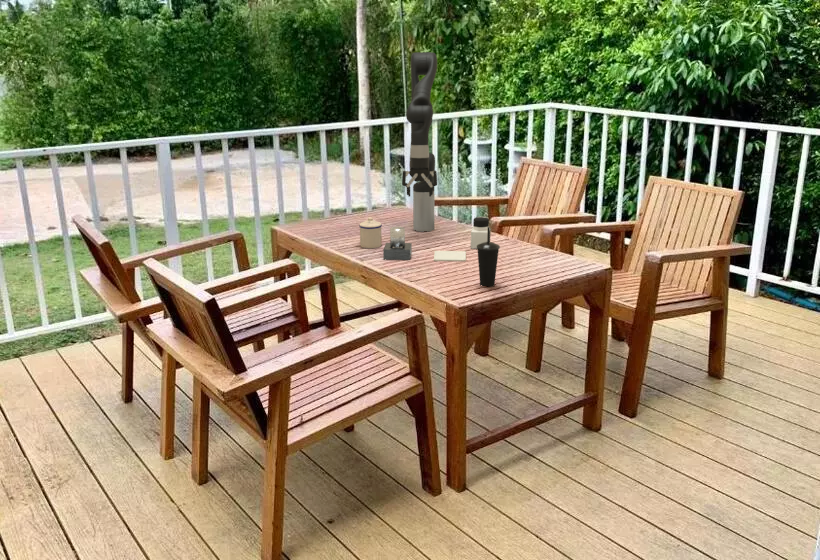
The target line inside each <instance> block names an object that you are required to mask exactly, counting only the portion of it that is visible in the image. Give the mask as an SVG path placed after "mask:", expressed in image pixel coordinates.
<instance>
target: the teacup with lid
mask: <svg viewBox="0 0 820 560" xmlns="http://www.w3.org/2000/svg"><path fill="white" fill-rule="evenodd" d="M358 227H359V244H360V247H361V248H363V249H378V248H380V247H382V242H383V241H382V240H383V237H382V227H383V225H382V223H381V222H380V221H377V220H375V219H374V218H373V217H370V216H369V217H367V219H365V220H364V221H362V222H360V223H359V226H358Z"/></svg>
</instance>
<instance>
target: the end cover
mask: <svg viewBox="0 0 820 560" xmlns="http://www.w3.org/2000/svg"><path fill="white" fill-rule="evenodd" d="M389 241H390V242H389V243H390V245H391V246H392V248H403V246H405V243H406V228H405V227H404V226H392V227H390V228H389Z"/></svg>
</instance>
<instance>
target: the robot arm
mask: <svg viewBox="0 0 820 560" xmlns="http://www.w3.org/2000/svg"><path fill="white" fill-rule="evenodd" d="M437 69H438V56H437V54H436V53H435V52H431V51H430V52H429V51H426V52H425V51H423V52H421V51H419V52H417V51H416V52H413V53H411V58H410V77H411V80H410V81H411V82H410V83H411V97H410V98H411V101H410V104H409V105H408V107H407V110H406V113H405V116H406V117H405V118H406V120H407V122H408V123H410V148H409V149H410V150H409V170H403V171H402V179H401V180H402V181H401V185H402V186H404V187H405V188H406V195H407V196H408V197H411V185H412V184H413V182H415V183H414V184H413V186H412V200H413V201H412V203H413V204H412V206H413V217H412V218H413V219H412V220H413V221H412V222H413V225H412V226H413V227H412V228H413V231H415V230H416V231H415V232H424V231H427V232H432V230H433V231H434V230H435V187H436V186H438V174H437V170H436V158H435V154H434V153H433V152H432V153H431V152H430V149H429V148H430V147H429V134H430V133H429V132H430V128H431V127H432V124H433V116H434V111H433V107H434V106H433V105H432V102H431V92H432V87H433V84H434V81H435V78H436V74H437ZM420 76H423V77H422V78H421V79H420V78H419V77H420ZM408 175H409V176H410V177H411V179H410V180H409V181H408V182H406V180H407V179H406V178H407V177H408Z"/></svg>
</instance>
